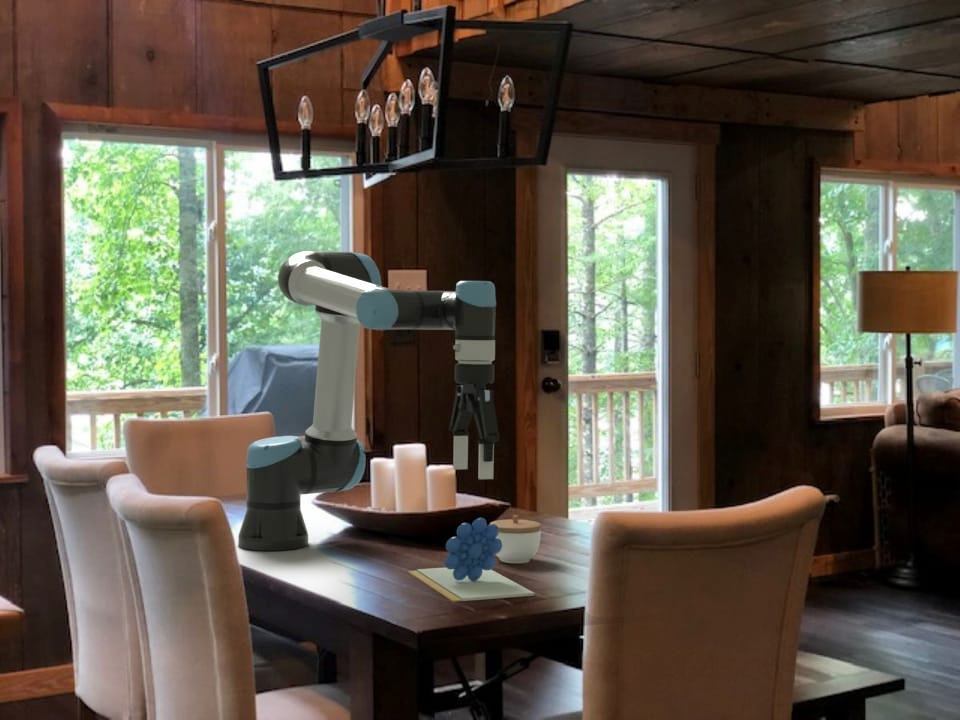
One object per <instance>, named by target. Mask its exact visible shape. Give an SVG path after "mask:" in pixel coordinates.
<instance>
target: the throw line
mask: <svg viewBox="0 0 960 720" xmlns="http://www.w3.org/2000/svg"><path fill="white" fill-rule="evenodd" d="M407 573H408V574H410V575H411V576H413V577H414V578H416V579H417V580H419V581H421V582H422V583H424V584H425V585H426V586H428V587H430V588H431V589H433V590H435V592H437V593H439V594H440V595H442V596H444V598H447V599H448V600H449V601H451V602H453V603H454V602H457V603H458V602H462V601H461V599H459V598H458V597H456V596H455V595H453V594H451V593H450V592H448V591H447V590H445V589H444V588H442V587H440V586H439V585H437V584H436V583H434V582H433V581H431V580H430V579H428V578H426V577H425V576H423V575H422V574H420V573H419V572H417V570H408V572H407Z"/></svg>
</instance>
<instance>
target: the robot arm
mask: <svg viewBox="0 0 960 720" xmlns="http://www.w3.org/2000/svg"><path fill="white" fill-rule="evenodd" d="M380 274H381V273H380V271H379V268H378V266H377V264H376V262H375V261H374V260H373V258H372V257H370V256H369V255H367V254H363V253H358V252H352V251H319V250H318V251H317V250H306V251H304V250H303V251H300V252H297V253H295V254H294V253H293V254H292V255H291V256H289V257H288V258H287V259H285V261H284V262H283V263H282V264H281V266H280V269H279V272H278V275H277V281H278V288H279V290H280V291H281V293H282V294H283V296H285V298H286V299H287V300H289V301H291V302H292V303H296V304H298V305H301V306H307V307H311V306H315V309H314V310H315V313H316V314H317V316H318V317H319V318H320V319H321V321H320V331H319V333H320V334H319V343H318V345H319V346H318V358H317V368H316V369H317V370H316V381H315V382H316V383H315V393H314V403H313V405H314V406H313V417H312V425H311V426H309V427H308V428H307V429H306V430H305V432H304V434H305V435H304V441H302V440H301V438H300V437H299V436H296V435H295V436H294V435H282V436H271V437H267V438H262V439H259V440H256V441H253V442H252V443H250V445H249V446H248V447H247V453H246V461H245V466H246V512H245V514H244V518H243V520H242V524H241V526H240V530H239V533H238V539H237V543H238V544H237V545H238V547H240V548H242V549H246V550H252V551H253V550H254V551H268V552H269V551H271V552H272V551H273V552H274V551H288V550H295V549H301V548H304V547H306V546H308V545H309V532H308V530H307V525H306V522H305V519H304V515H303V514H302V509H301V495H313V494H321V493H339V492H342V491H348V490H352V489H353V488H355V486H356V485H358V484H359V483H360V482H361V480H362V478H363V476H364V473H365V469H366V459H367V458H366V453H364V452H365V447H364V445H363V444H362V442H361V441H359V440H358V434H357V432H356V431H355V430H354V429H353V427H352V423H353V412H354V411H353V408H354V399H355V387H356V376H357V375H356V374H357V364H358V352H359V351H358V350H359V340H360V332H361V331H360V330H361V329H360V328H361V326H362V327H363V328H364V329H368V330H375V331H386V330H425V331H427V330H431V331H432V330H434V331H435V330H439V331H441V330H446V331H447V330H448V331H449V330H450V331H455V332H454V333H455V335H454V339H455V343H454V344H453V345H452V349H453V350H454V351H455V352H454V355H455V356H454V357H455V360H456V361H458V363H457V362H456V363H455V364H454V382H455V383H457V384H461V385H456V386H455V397H454V401H453V407H452V412H451V417H450V420H449V421H450V422H449V426H448V429H449V432H450V431H451V432H452V435H453V452H452V453H453V458H452V459H453V460H452V461H453V463H452V465H453V466H452V467H453V470H457V471H458V470H468V465H469V463H468V460H469V457H468V456H469V435H470V432H469V426H470V423H471V421H472V417H474V420H475V423H476V428H477V431H478V436H479V439H478V441H477V444H478V464H477V465H478V466H477V467H478V470H477V471H478V473H477V474H478V477H477V478H478V480H494V464H495V461H494V460H495V457H494V455H495V451H494V450H495V444H496V442H499V441H500V433H499V428H498V427H499V426H498V421H497V414H496V408H495V402H494V399H495V398H494V390H493V389H487V386H486V385H490V384H493V383H494V382H495V365H494V364H493V363H492V362H493V361H495V360H496V339H495V338H496V335H495V334H496V308H497V299H496V287H495V284H494V283H493V282H492V281H490V280H489V281H488V280H487V281H486V280H460V281H458V282H456V286H455V291H453V290H403V289H402V290H401V289H391V288H389V287H385V286H382V279H381V278H382V277H381V275H380Z"/></svg>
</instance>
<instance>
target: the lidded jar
mask: <svg viewBox="0 0 960 720" xmlns="http://www.w3.org/2000/svg"><path fill="white" fill-rule="evenodd" d="M489 524H495V525H497V526H498V530H499V532H498V535H497V537H496V538H498V539H500V540H501V542H502V549H501V550H500V552H499V553H497V554H495V555H496V556H497V558H499V560H500V562H502V563H507V564H525V563H529V562H530V561H531V559H532V558H533V557H534V556H535V555H536V553H537V552H538V550H539V547H540V543H541V536H542V535H541V534H542V533H541V532H542V531H541V530H542V524H541V522H539V521H535V520H529V519H519V516H518V515H515V514H514V515H512V518H511V519H509V518H508V519H498V520H494V521H491V522H489Z"/></svg>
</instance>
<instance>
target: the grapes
mask: <svg viewBox="0 0 960 720" xmlns="http://www.w3.org/2000/svg"><path fill="white" fill-rule="evenodd" d="M498 532H499V530H498V526H497V525H495V524H490V523H489V524H487V520H486V519H485V518H483V517H478V518H475V519H474V520H473V521H472V524H470V523H469V522H462V523H461V524H460V525H459V526H458V527H457V529H456V535H457V536H452V537H450V538H449V539H448V540H447V541H446V543H445V549H446V551H447V552H448V553H449V554H448V555H447V556H446V557H445V559H444V562H443V563H444V566H445V567H444V568H447V569H454V571H453V576H454V578H455V579H456V580H463V579H464V578H465V577H466V576H468V579H470V580H472V581H476V580H478V579H479V578H480V577H481V575H482V572H483V571H482V569H483V570H493V568H494V567H495V566H496V562H497V560H496V557H495V555H496V554H497V553H499V552H500V550H501V549H502V542H501V540H500V539H498V538H496V537H497V535H498Z"/></svg>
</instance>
